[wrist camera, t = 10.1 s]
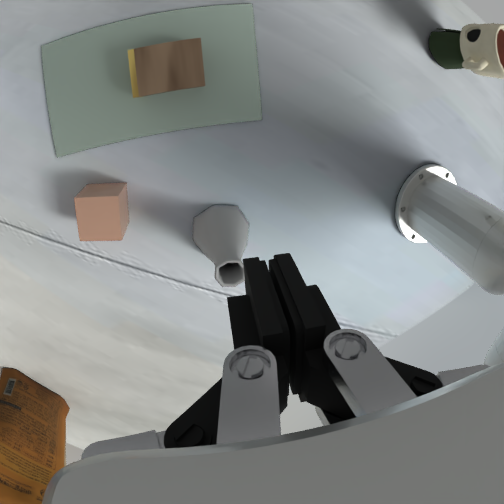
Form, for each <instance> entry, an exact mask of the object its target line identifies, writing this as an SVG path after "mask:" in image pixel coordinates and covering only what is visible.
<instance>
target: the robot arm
mask: <svg viewBox="0 0 504 504" xmlns="http://www.w3.org/2000/svg"><path fill="white" fill-rule="evenodd" d="M395 218H396V223H397V226H398V228H399V230H400V232H401V233H402V234H403V235H404V236H405V237H406V238H407V239H409V240H410V241H412V242H415V243H424V242H428V243H430V244H431V245H432V246H433V247H434V248H436V249H437V250H438V251H439V252H441V253H442V254H443V255H444V256H445V257H447V258H448V259H449V260H450V261H451V262H453V263H454V264H455V265H456V266H457V267H458V268H460V269H461V270H462V271H463V272H464V273H465V274H466V275H468V276H469V277H470V278H471V279H472V280H473V281H474V282H476V283H477V284H478V285H479V286H480V287H481V288H482V289H484V290H485V291H487V292H488V293H491V294H494V295H504V211H502V210H501V209H499V208H497V207H496V206H494V205H492V204H490V203H489V202H487V201H485V200H483V199H482V198H480V197H478V196H476V195H474V194H473V193H471V192H469V191H467V190H465V189H463V188H461V187H459V186H458V185H457V183H456V180H455V178H454V176H453V175H452V174H451V172H450V171H449V170H447V169H446V168H444V167H442V166H440V165H436V164H429V165H425V166H422V167H420V168H419V169H417V170H416V171H414V172H413V173H412V174H411V175H410V176H409V177H408V178H407V180H406V181H405V183H404V184H403V186H402V188H401V190H400V192H399V195H398V198H397V202H396V208H395ZM243 266H244V277H245V288H246V295H242V296H234V297H227V301H228V308H229V315H230V322H231V329H232V336H233V343H234V350H233V351H232V352H231V353H229V355H228V356H227V357H226V358H225V361H224V365H223V376H222V378H221V379H220V380H219V381H218V382H217V383H216V384H215V385H214V386H213V387H211V388H210V389H209V390H208V391H207V392H206V393H205V394H204V395H203V396H202V397H201V398H200V399H198V400H197V401H196V402H195V403H194V404H193V405H192V406H191V407H190V408H189V409H187V410H186V411H185V412H184V413H183V414H182V415H181V416H180V417H179V418H177V419H176V420H175V421H174V422H173V423H172V424H171V425H170V426H169V427H168V428H167V430H166V431H162V432H158V433H156V431H155V430H152V431H148V432H144V433H139V434H135V435H130V436H125V437H120V438H115V439H109V440H104V441H98V442H95V443H92V444H90V445H89V446H88V447H87V448H85V450H84V452H83V454H82V458H81V460H79V461H76V462H73V463H71V464H69V465H67V466H65V467H63V468H61V469H60V470H59V471H58V472H56V473H55V474H54V476H53V477H52V478H51V480H50V482H49V484H48V486H47V488H46V491H45V494H44V497H43V501H42V504H504V327H503V329H502V331H501V332H500V334H499V335H498V337H497V338H496V340H495V341H494V343H493V344H492V346H491V348H490V349H489V351H488V353H487V355H486V357H485V361H484V365H477V366H472V367H466V368H461V369H455V370H448V371H442V372H438V374H437V375H436V376H435V375H434V374H432V373H430V372H428V371H426V370H422V369H420V368H417V367H414V366H411V365H407V364H404V363H402V362H399V361H396V360H393V359H390V358H387V357H384V356H383V355H382V353H381V352H380V351H379V350H378V349H377V347H376V346H375V345H374V344H373V343H372V341H371V340H370V339H369V338H368V337H367V336H366V335H365V334H363V333H361V332H359V331H357V330H353V329H341V328H340V326H339V324H338V323H337V321H336V319H335V317H334V315H333V313H332V311H331V309H330V308H329V306H328V304H327V302H326V300H325V298H324V297H323V295H322V293H321V291H320V289H319V288H318V286H317V285H311V286H306V284H305V282H304V280H303V278H302V276H301V274H300V272H299V270H298V268H297V266H296V264H295V262H294V260H293V258H292V256H291V254H290V253H286V254H278V255H274V259H271V260H269V270H268V268H267V265H266V262H265V260H263V261H260V260H259V257H255V258H247V259H243ZM289 384H290V387H291V391H292V393H293V394H298V395H299V398H300V401H301V402H304V401H307V402H308V403H310V404H312V405H315V409H316V412H317V414H318V416H319V418H320V420H321V421H322V423H323V425H324V426H322V427H317V428H313V429H309V430H305V431H300V432H295V433H289V434H284V435H281V427H280V414H281V413H282V412H283V410H284V409H285V408H286V407H287V396H288V395H289Z"/></svg>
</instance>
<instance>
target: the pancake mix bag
mask: <svg viewBox="0 0 504 504" xmlns="http://www.w3.org/2000/svg"><path fill="white" fill-rule="evenodd" d="M69 409H70V408H69V406H68V405H67V403H66V401H65V400H64V399H63V398H62V397H61V396H60V395H58V394H56V393H54V392H53V391H51V390H49V389H47V388H46V387H44V386H42V385H40V384H39V383H37V382H35V381H34V380H32V379H30V378H29V377H27V376H26V375H24V374H23V373H21V372H20V371H19V370H16V369H13V368H2V371H1V377H0V504H42V501H43V497H44V494H45V491H46V488H47V486H48V484H49V482H50V480H51V478H52V477H53V476H54V474H55V473H56V472H58V471H59V470H60V469H61V468H63V467H65V466H66V451H65V450H66V448H65V446H66V445H65V444H66V416H67V414H68V412H69Z"/></svg>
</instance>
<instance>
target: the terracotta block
mask: <svg viewBox="0 0 504 504" xmlns="http://www.w3.org/2000/svg"><path fill="white" fill-rule="evenodd" d="M74 202H75V210H76V218H77V225H78V232H79V238H80V241H116V240H122V239H123V237H124V234H125V232H126V229H127V226H128V224H129V212H128V195H127V182H126V183H101V184H87V185H86V186H85V187H84V188H83V189H82V190H81V191H80V192H79V193H78V194H77V195H76V197H75V198H74Z"/></svg>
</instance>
